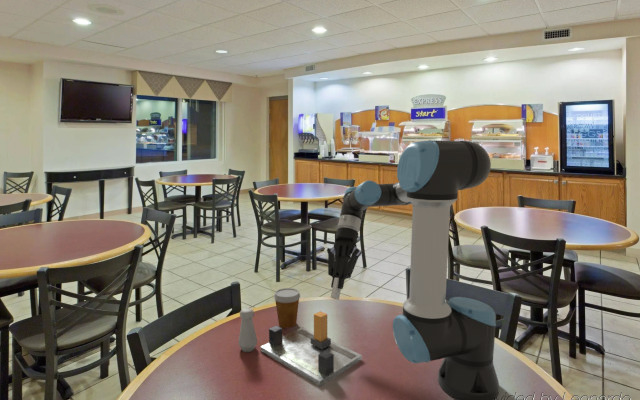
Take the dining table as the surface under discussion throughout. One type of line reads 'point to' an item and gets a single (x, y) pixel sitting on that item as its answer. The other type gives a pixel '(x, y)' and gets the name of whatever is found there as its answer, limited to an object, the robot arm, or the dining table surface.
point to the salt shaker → (247, 331)
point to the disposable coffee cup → (287, 306)
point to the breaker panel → (309, 355)
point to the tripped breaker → (320, 331)
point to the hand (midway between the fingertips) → (334, 298)
